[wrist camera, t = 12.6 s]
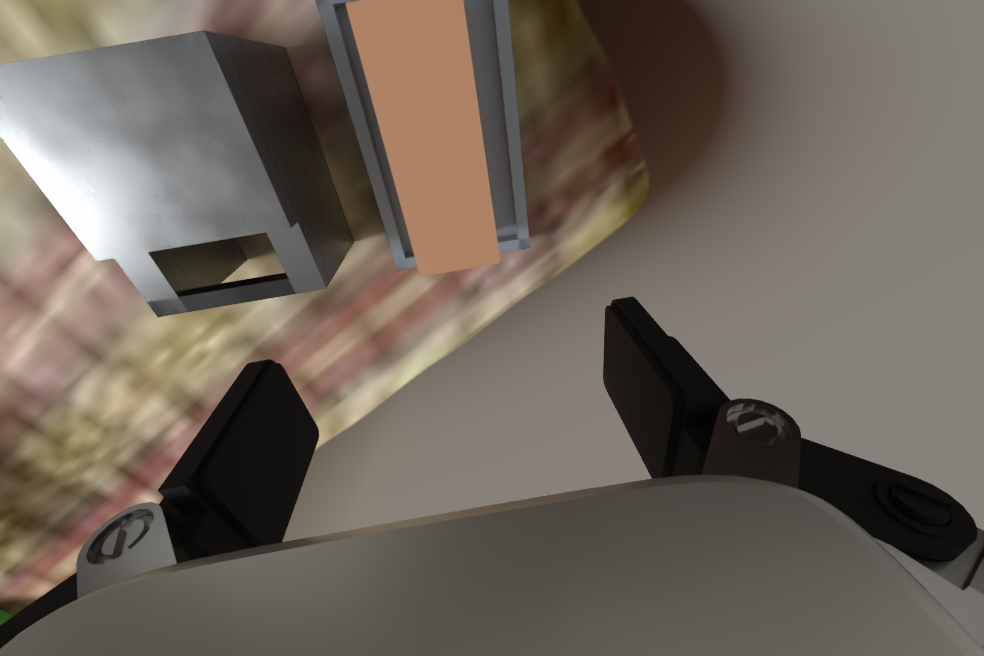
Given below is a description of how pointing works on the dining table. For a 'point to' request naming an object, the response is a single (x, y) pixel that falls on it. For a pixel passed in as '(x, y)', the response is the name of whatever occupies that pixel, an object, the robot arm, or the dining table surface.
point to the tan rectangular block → (430, 127)
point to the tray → (495, 109)
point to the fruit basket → (4, 616)
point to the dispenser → (180, 164)
